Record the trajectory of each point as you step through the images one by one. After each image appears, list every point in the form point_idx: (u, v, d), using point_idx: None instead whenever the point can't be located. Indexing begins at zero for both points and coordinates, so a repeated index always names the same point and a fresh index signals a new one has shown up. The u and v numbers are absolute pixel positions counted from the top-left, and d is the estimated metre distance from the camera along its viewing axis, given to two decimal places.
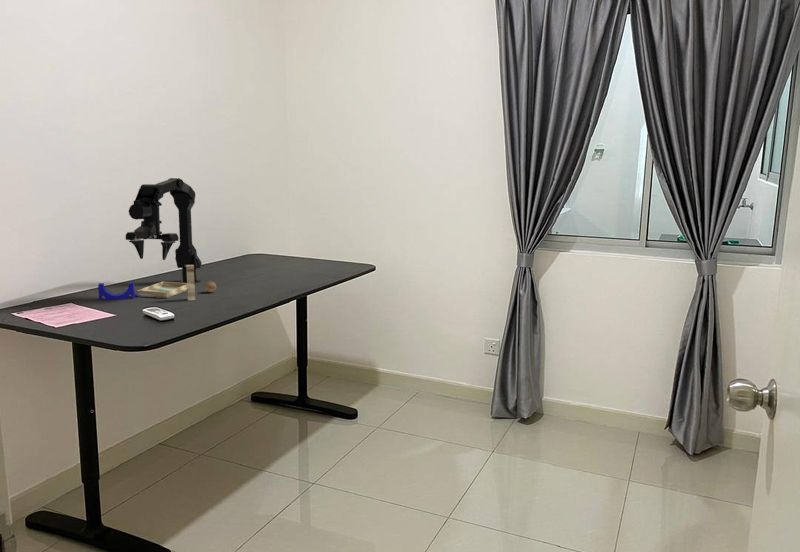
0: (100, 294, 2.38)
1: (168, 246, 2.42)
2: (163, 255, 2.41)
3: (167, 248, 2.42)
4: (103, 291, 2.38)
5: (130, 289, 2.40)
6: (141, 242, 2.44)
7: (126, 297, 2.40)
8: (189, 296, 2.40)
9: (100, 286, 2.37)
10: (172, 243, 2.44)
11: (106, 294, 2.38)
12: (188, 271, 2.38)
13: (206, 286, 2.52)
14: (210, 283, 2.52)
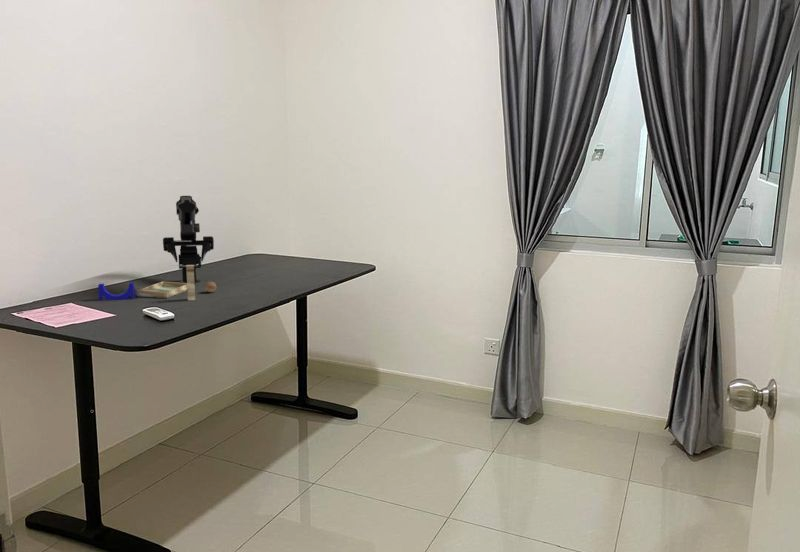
0: (100, 294, 2.37)
1: (205, 251, 2.52)
2: (202, 255, 2.48)
3: (204, 252, 2.51)
4: (103, 291, 2.37)
5: (131, 289, 2.40)
6: None
7: (126, 297, 2.40)
8: (189, 296, 2.40)
9: (100, 286, 2.37)
10: (207, 251, 2.54)
11: (106, 294, 2.38)
12: (188, 271, 2.38)
13: (206, 286, 2.52)
14: (210, 283, 2.52)
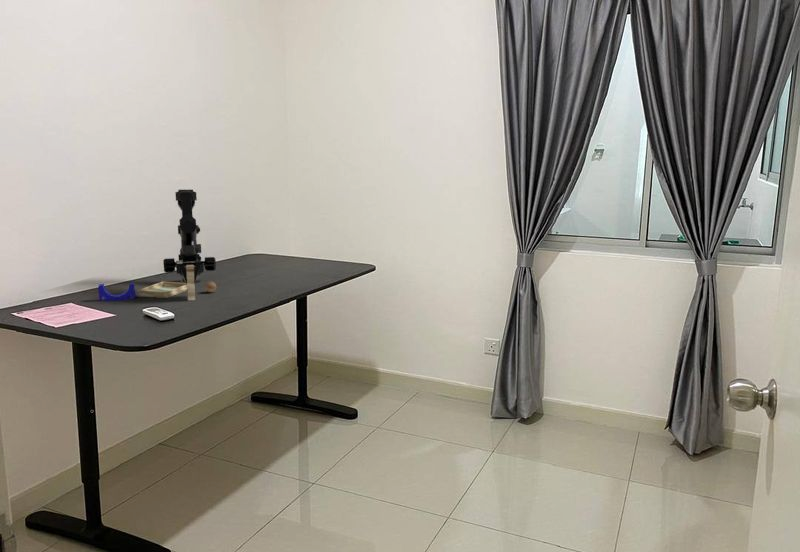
0: (100, 295, 2.36)
1: (198, 273, 2.44)
2: (195, 277, 2.40)
3: (197, 274, 2.43)
4: (103, 292, 2.36)
5: (131, 290, 2.39)
6: None
7: (126, 298, 2.39)
8: (189, 296, 2.40)
9: (100, 287, 2.36)
10: (200, 272, 2.45)
11: (106, 295, 2.37)
12: (188, 271, 2.38)
13: (206, 286, 2.52)
14: (210, 283, 2.52)
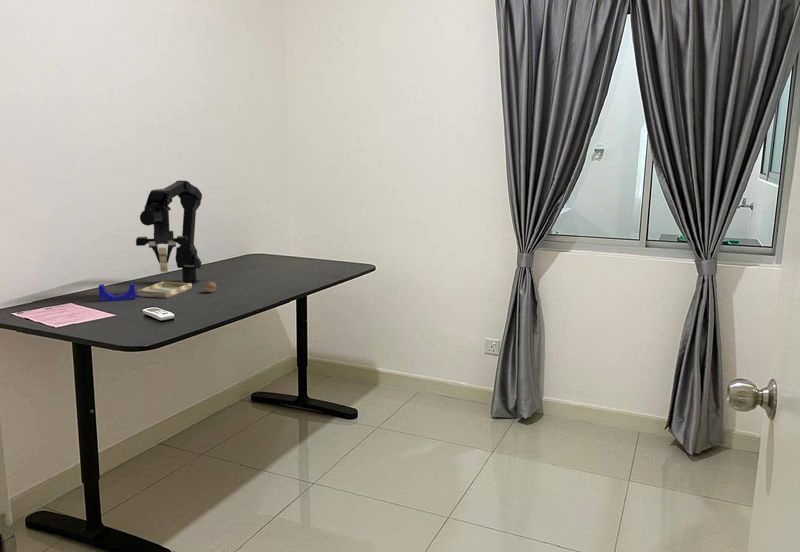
0: (101, 295, 2.35)
1: None
2: (168, 258, 2.50)
3: None
4: (104, 292, 2.36)
5: (131, 290, 2.39)
6: (157, 246, 2.49)
7: (127, 298, 2.39)
8: (162, 270, 2.54)
9: (101, 287, 2.35)
10: None
11: (107, 295, 2.36)
12: (161, 256, 2.47)
13: (206, 286, 2.52)
14: (210, 283, 2.52)
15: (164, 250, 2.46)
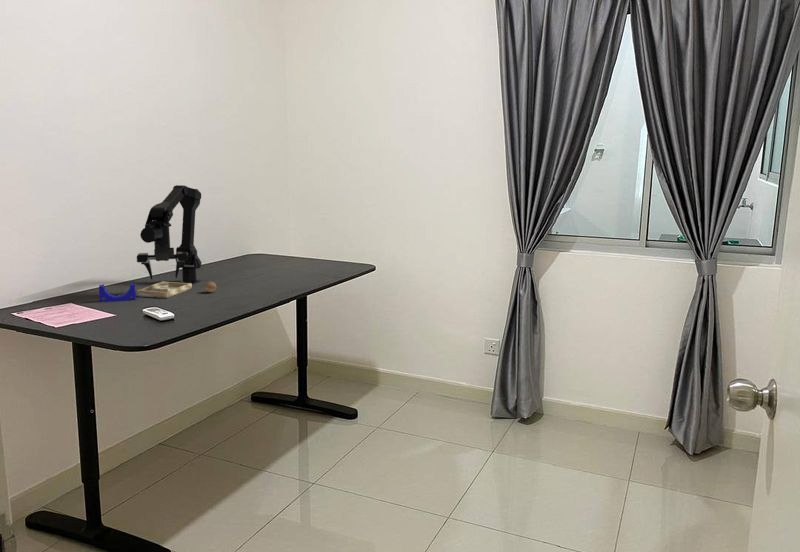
0: (101, 296, 2.35)
1: None
2: (176, 274, 2.52)
3: None
4: (104, 293, 2.35)
5: (132, 290, 2.38)
6: (149, 263, 2.50)
7: (127, 298, 2.38)
8: None
9: (101, 288, 2.34)
10: None
11: (107, 296, 2.36)
12: None
13: (206, 286, 2.52)
14: (210, 283, 2.52)
15: None
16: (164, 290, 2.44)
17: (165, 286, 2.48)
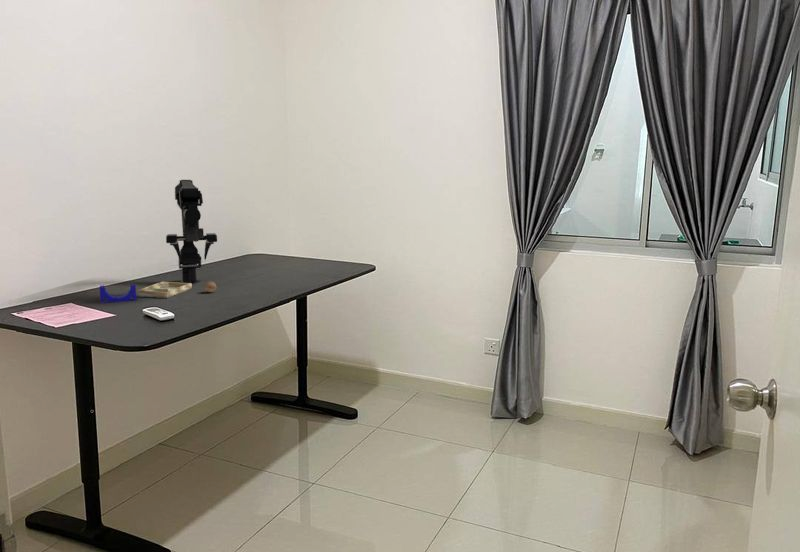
0: (102, 296, 2.34)
1: None
2: (205, 255, 2.51)
3: None
4: (105, 293, 2.34)
5: (133, 291, 2.37)
6: (178, 244, 2.49)
7: (128, 299, 2.37)
8: None
9: (101, 288, 2.33)
10: None
11: (108, 296, 2.35)
12: None
13: (206, 286, 2.52)
14: (210, 283, 2.52)
15: None
16: (164, 290, 2.44)
17: (165, 286, 2.48)
